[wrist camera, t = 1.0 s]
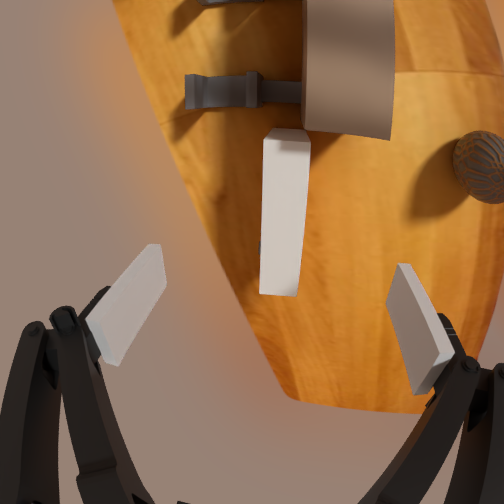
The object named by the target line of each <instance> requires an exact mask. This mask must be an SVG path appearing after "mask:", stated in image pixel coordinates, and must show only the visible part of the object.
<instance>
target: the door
mask: <svg viewBox="0 0 504 504" xmlns="http://www.w3.org/2000/svg"><path fill="white" fill-rule="evenodd" d="M310 151H311V142H310V139H309V137H308V135H307V132H306V130H301V129H286V128H272V130H271V131H270V132H269V133H268V135H267V136H266V137H265V139H264V142H263V185H262V224H261V241H260V242H259V255H261V259H260V291H259V294H269V295H281V296H293V297H297V290H298V281H299V273H300V264H301V255H302V246H303V236H304V226H305V215H306V204H307V192H308V179H309V166H310Z"/></svg>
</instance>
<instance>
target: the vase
mask: <svg viewBox="0 0 504 504" xmlns="http://www.w3.org/2000/svg"><path fill="white" fill-rule="evenodd" d="M453 168H454V172H455V175H456V177H457V179H458V181H459V183H460V184H461V186H462V187H463V188H464V190H465V191H466V192H467V193H469V194H470V195H471V196H472V197H474V198H475V199H477V200H479V201H481V202H484V203H489V204H499V203H503V202H504V139H502V138H501V137H499V136H498V135H496V134H493V133H491V132H487V131H473V132H470V133H468V134H466V135H464V136H463V137H462V138H461V139H460V140H459V141H458V143H457V145H456V147H455V149H454V153H453Z"/></svg>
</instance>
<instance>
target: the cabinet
mask: <svg viewBox="0 0 504 504" xmlns="http://www.w3.org/2000/svg"><path fill="white" fill-rule="evenodd" d="M197 1H198V2H199V3H200V4H201V5H202V6H203V5H211V4H221V3H234V2H258V1H264V0H197ZM394 79H395V26H394V6H393V0H302V82H294V81H270V80H263V76H262V75H261V74H260V73H258V72H257V71H247V76H217V77H205V76H201V75H196V74H190V75H185V109H198V108H206V107H246V108H258V107H262V102H284V103H301V117H300V119H301V122H302V124H303V127H304V129H305V130H311V131H322V132H332V133H341V134H349V135H357V136H364V137H371V138H377V139H383V140H389V141H390V136H391V126H392V114H393V100H394Z"/></svg>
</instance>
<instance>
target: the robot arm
mask: <svg viewBox="0 0 504 504" xmlns="http://www.w3.org/2000/svg"><path fill="white" fill-rule="evenodd" d="M166 286H167V281H166V276H165V269H164V263H163V257H162V250H161V245H159V244H148V245H147V246H146V247H145V249H144V250H143V251H142V252H141V253H140V254H139V255H138V257H136V259H135V260H134V261H133V262H132V263H131V264H130V265H129V267H128V268H127V269H126V270H125V271H124V272H123V274H122V275H121V276H120V277H119V278H118V280H117V281H116V282H115V283H114V284H113V285H112V286H106V287H105V288H103V289H102V290H100V291H99V292H98V293H97V294H96V295H95V297H94V299H92V300H91V301H90V304H88V305H87V306H86V307H85V309H84V310H83V311H82V312H81V313H80V315H79V316H78V317H77V314H76V312H75V310H74V308H73V307H71V306H62V307H59V308H57V309H56V310H54V311H53V312H52V313H51V315H50V318H49V320H50V322H51V324H52V326H53V328H54V329H51V330H50V329H49V330H48V329H46V328H45V326H44V324H43V323H42V322H40V321H35V322H31V323H29V324H28V325H27V326H26V327H25V328H24V330H23V332H22V335H21V338H20V340H19V343H18V347H17V350H16V353H15V356H14V360H13V363H12V366H11V370H10V374H9V378H8V382H7V386H6V390H5V394H4V399H3V403H2V408H1V414H0V504H60V501H59V478H58V435H59V416H60V404H61V394H62V396H63V402H64V408H65V414H66V419H67V424H68V428H69V433H70V437H71V442H72V445H73V450H74V453H75V457H76V461H77V464H78V467H79V475H78V476H77V477H76V481H77V486H78V489H79V492H80V495H81V498H82V501H83V503H84V504H155V503H154V501H153V500H152V498H151V496H150V494H149V493H148V492H147V490H146V489H145V487H144V486H143V484H142V482H141V480H140V478H139V476H138V474H137V471H136V469H135V467H134V464H133V462H132V460H131V458H130V455H129V453H128V450H127V448H126V445H125V442H124V440H123V437H122V435H121V432H120V429H119V426H118V424H117V421H116V418H115V415H114V412H113V409H112V406H111V403H110V399H109V396H108V393H107V390H106V386H105V383H104V379H103V375H102V372H101V368H100V364H99V362H98V358H99V357H100V355H102V357H103V359H104V361H105V363H108V364H112V365H115V366H119V365H120V363H121V361H122V359H123V358H124V356H125V354H126V352H127V351H128V349H129V347H130V345H131V344H132V342H133V340H134V338H135V337H136V335H137V333H138V332H139V330H140V328H141V327H142V325H143V323H144V322H145V320H146V318H147V317H148V315H149V313H150V312H151V310H152V309H153V307H154V305H155V304H156V302H157V300H158V299H159V297H160V296H161V294H162V292H163V291H164V289H165V288H166ZM386 306H387V309H388V311H389V314H390V317H391V320H392V323H393V326H394V330H395V333H396V336H397V339H398V342H399V346H400V349H401V352H402V356H403V359H404V363H405V366H406V370H407V373H408V377H409V381H410V385H411V389H412V393H413V395H421V394H428V392H429V391H430V390H431V388H432V387H434V390H435V394H434V395H433V396H432V398H431V399H430V400H429V401H428V403H427V404H426V405H425V406H426V409H425V411H424V412H423V414H422V416H421V418H420V419H419V421H418V423H417V424H416V426H415V427H414V429H413V431H412V432H411V434H410V435H409V437H408V438H407V440H406V442H405V443H404V445H403V446H402V448H401V449H400V450H399V452H398V453H397V455H396V456H395V457H394V459H393V460H392V462H391V463H390V464H389V466H388V467H387V468H386V470H385V471H384V472H383V474H382V475H381V476H380V478H379V479H378V480H377V481H376V483H375V484H374V485H373V486H372V488H371V489H370V490H369V491H368V492H367V494H366V495H365V496H364V497H363V498H362V499H361V500H360V501H359V503H358V504H419V503H420V501H421V500H422V498H423V497H424V495H425V494H426V492H427V491H428V489H429V487H430V486H431V484H432V482H433V481H434V479H435V477H436V476H437V474H438V472H439V470H440V468H441V467H442V465H443V463H444V461H445V459H446V457H447V455H448V453H449V451H450V449H451V447H452V445H453V443H454V441H455V439H456V437H457V434H458V432H459V430H460V428H461V425H462V423H463V421H464V424H463V429H462V435H461V440H460V446H459V450H458V454H457V459H456V463H455V467H454V471H453V475H452V478H451V482H450V486H449V489H448V492H447V495H446V498H445V501H444V504H504V363H498V364H497V365H496V366H495V367H494V369H493V370H489V369H484V368H481V367H480V364H479V363H478V362H477V360H475V359H474V358H473V357H470V356H466V353H465V351H464V349H463V347H462V345H461V343H460V340H459V338H458V336H457V335H456V332H455V330H454V329H453V326H452V324H451V322H450V320H449V319H448V318H447V317H446V316H445V315H444V314H443V313H436V311H435V309H434V307H433V305H432V303H431V301H430V299H429V297H428V295H427V294H426V292H425V290H424V288H423V286H422V284H421V282H420V281H419V279H418V277H417V275H416V274H415V272H414V270H413V268H412V267H411V265H410V264H405V263H398V264H397V268H396V271H395V275H394V278H393V281H392V285H391V288H390V291H389V294H388V297H387V300H386ZM177 504H188V503H185V502H181V501H178V502H177Z"/></svg>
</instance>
